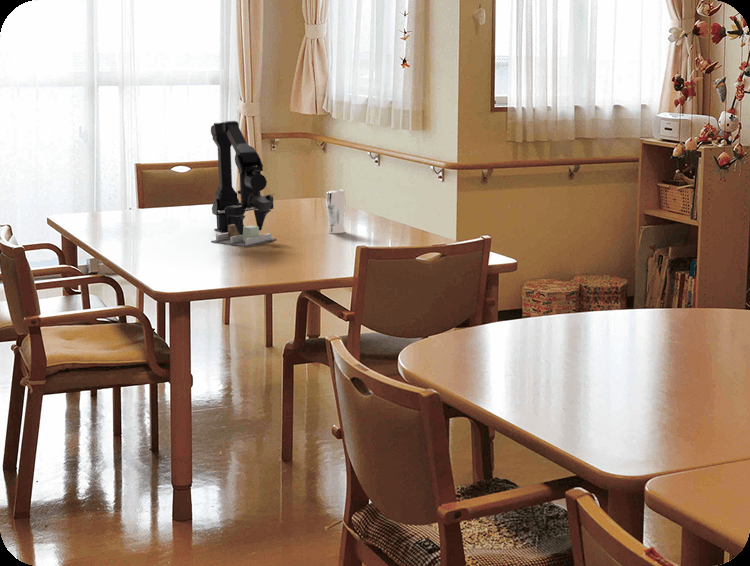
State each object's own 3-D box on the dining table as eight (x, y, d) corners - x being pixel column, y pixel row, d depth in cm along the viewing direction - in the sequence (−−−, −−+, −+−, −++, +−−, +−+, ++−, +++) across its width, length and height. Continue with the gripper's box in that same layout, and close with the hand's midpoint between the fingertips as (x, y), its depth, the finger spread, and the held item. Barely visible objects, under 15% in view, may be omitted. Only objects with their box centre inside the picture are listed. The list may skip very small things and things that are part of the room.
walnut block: (228, 239, 334) (227, 225, 332) (236, 237, 337) (235, 223, 336) (236, 240, 331) (235, 226, 330) (244, 238, 334) (244, 224, 333)
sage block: (242, 241, 330) (242, 227, 328) (251, 239, 333) (250, 225, 332) (251, 242, 327) (250, 228, 326) (259, 240, 330) (258, 226, 329)
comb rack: (210, 242, 331) (210, 235, 331) (241, 235, 343) (240, 228, 342) (246, 247, 321) (246, 240, 321) (276, 239, 333) (276, 233, 333)
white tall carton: (343, 234, 342) (342, 192, 338) (324, 233, 343) (323, 192, 339) (348, 230, 348) (347, 189, 345) (329, 230, 350) (328, 189, 346)
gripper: (246, 192, 314) (248, 239, 317) (284, 185, 328) (286, 230, 332) (222, 190, 320) (225, 235, 324) (260, 183, 335) (262, 227, 338)
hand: (250, 232), depth 329 cm, fingers open, 9 cm apart
